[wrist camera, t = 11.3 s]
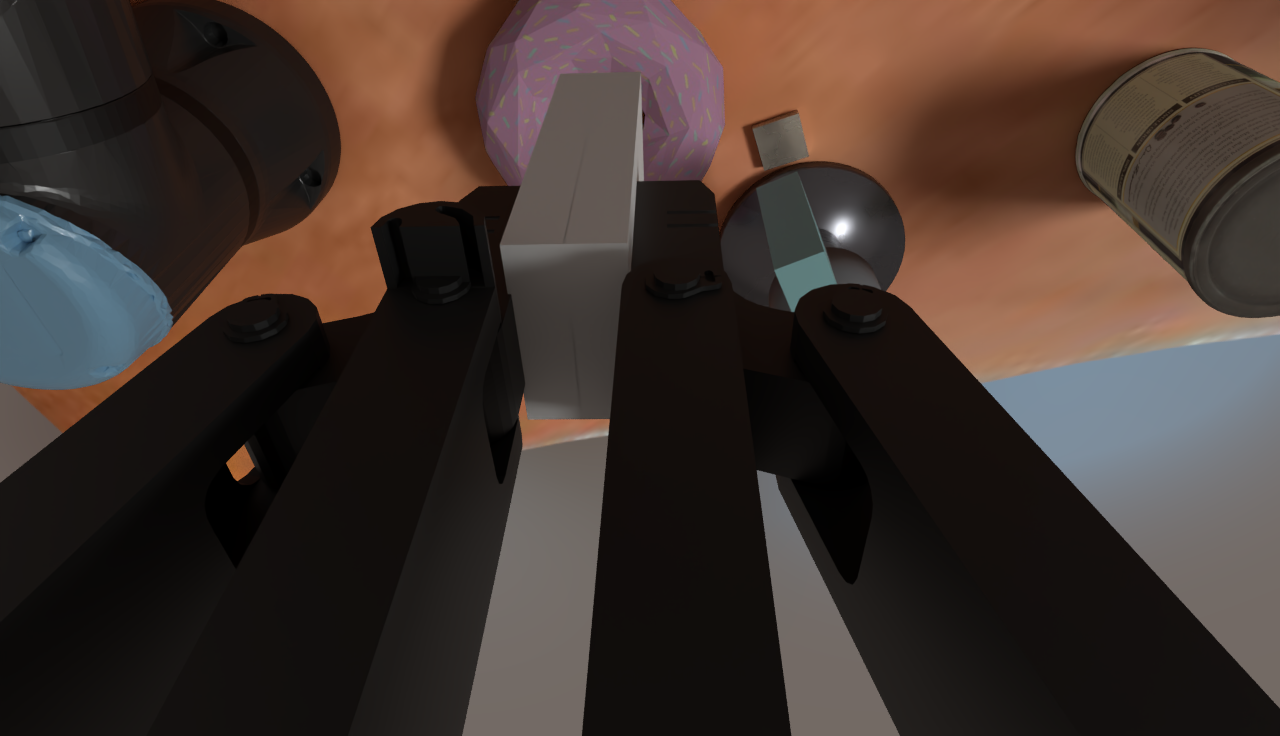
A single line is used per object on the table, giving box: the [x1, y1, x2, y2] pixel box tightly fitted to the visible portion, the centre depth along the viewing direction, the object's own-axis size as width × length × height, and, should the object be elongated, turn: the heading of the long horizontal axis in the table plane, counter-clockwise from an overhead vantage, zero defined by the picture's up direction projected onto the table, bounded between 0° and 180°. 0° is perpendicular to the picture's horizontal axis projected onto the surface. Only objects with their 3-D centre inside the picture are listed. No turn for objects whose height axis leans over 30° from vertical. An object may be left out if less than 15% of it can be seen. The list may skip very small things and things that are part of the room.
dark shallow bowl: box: [720, 110, 905, 307], centre depth 51 cm, size 13×16×6 cm
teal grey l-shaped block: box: [756, 171, 881, 312], centre depth 43 cm, size 14×7×12 cm, turn 25°
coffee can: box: [1076, 48, 1280, 318], centre depth 43 cm, size 10×10×14 cm
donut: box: [475, 0, 725, 186], centre depth 47 cm, size 16×15×5 cm
